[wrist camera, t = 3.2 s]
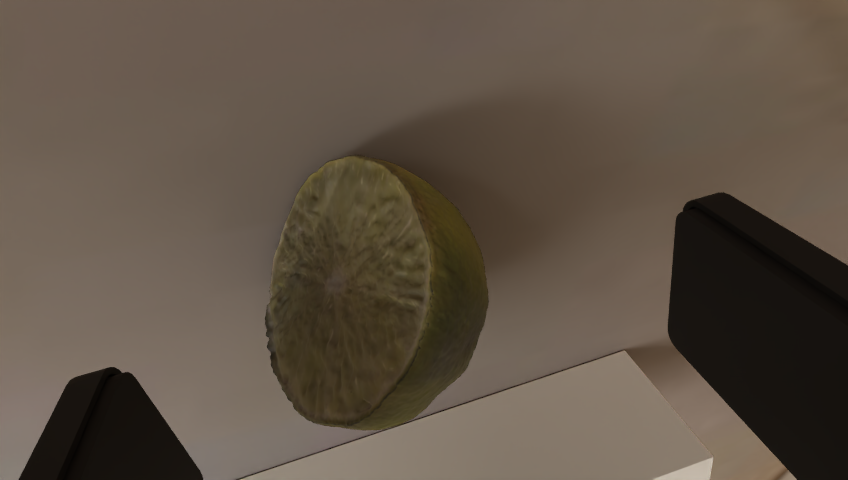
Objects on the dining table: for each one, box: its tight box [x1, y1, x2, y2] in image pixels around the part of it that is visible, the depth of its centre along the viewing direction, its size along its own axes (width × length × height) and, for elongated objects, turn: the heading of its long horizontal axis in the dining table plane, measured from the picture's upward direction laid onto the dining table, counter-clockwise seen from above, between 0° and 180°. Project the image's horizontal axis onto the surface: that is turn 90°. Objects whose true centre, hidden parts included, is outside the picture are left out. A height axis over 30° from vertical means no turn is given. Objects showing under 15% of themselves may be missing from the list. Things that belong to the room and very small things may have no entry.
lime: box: [265, 155, 489, 430], centre depth 10 cm, size 4×5×5 cm
